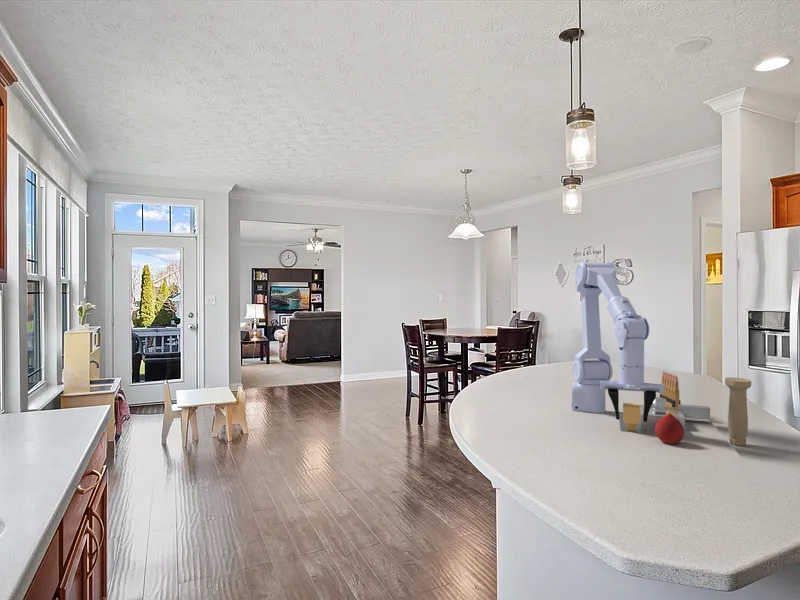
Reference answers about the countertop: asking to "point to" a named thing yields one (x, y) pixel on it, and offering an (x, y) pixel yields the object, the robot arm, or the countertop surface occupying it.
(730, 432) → the handle
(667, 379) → the ammunition clip
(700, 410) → the grey stepped platform
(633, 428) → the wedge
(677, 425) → the onion
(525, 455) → the countertop surface
